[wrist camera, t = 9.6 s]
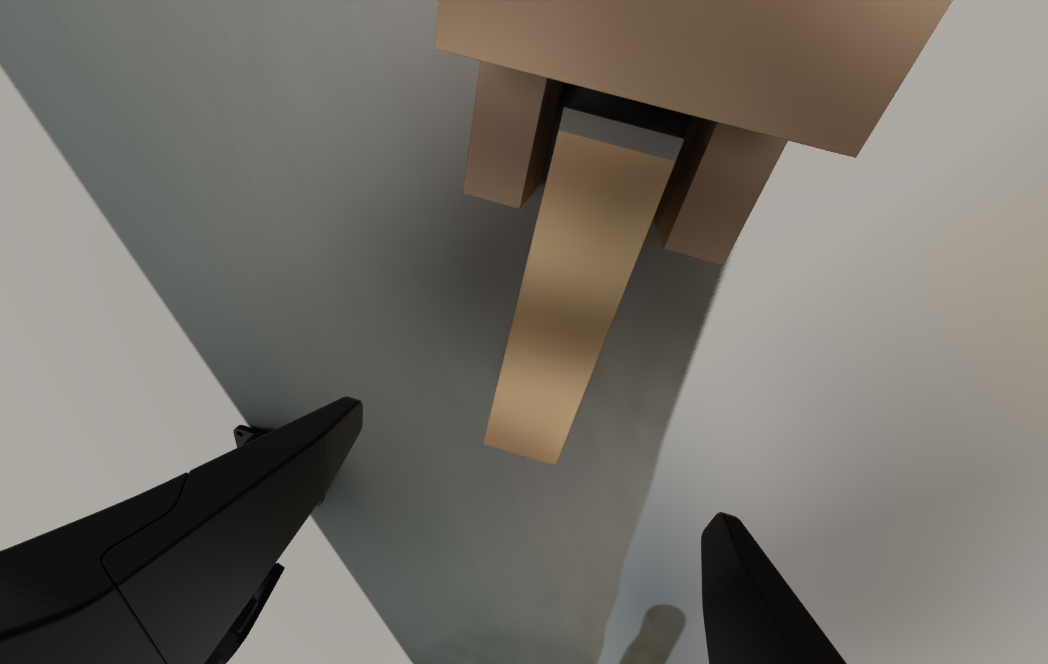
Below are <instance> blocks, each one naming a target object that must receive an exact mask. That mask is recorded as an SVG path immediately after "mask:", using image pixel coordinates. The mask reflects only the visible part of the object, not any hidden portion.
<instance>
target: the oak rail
mask: <svg viewBox="0 0 1048 664" xmlns="http://www.w3.org/2000/svg"><path fill="white" fill-rule="evenodd" d="M683 141H684V139H683V138H681V137H680V136H678V135H676V134H674V133H672V132H671V131H669V130H667V129H665V128H662V127H659V126H655V125H651V124H647V123H643V122H640V121H636V120H632V119H628V118H624V117H621V116H617V115H613V114H609V113H606V112H602V111H598V110H594V109H590V108H587V107H583V106H579V105H574V106H569V107H564V110H563V114H562V118H561V122H560V127H559V131H558V135H557V139H556V143H555V147H554V152H553V156H552V160H551V164H550V168H549V172H548V177H547V181H546V185H545V189H544V193H543V197H542V202H541V206H540V210H539V214H538V218H537V222H536V226H535V231H534V235H533V239H532V243H531V247H530V251H529V256H528V260H527V264H526V268H525V272H524V276H523V281H522V285H521V289H520V293H519V297H518V301H517V306H516V310H515V314H514V318H513V322H512V326H511V330H510V335H509V339H508V343H507V347H506V351H505V355H504V360H503V364H502V368H501V372H500V376H499V380H498V385H497V389H496V393H495V397H494V401H493V405H492V410H491V414H490V418H489V422H488V426H487V430H486V434H485V439H484V443H483V444H486V445H490V446H493V447H496V448H499V449H503V450H506V451H509V452H512V453H516V454H519V455H522V456H525V457H529V458H532V459H535V460H538V461H542V462H545V463H548V464H551V465H556V463H557V460H558V458H559V455H560V452H561V450H562V447H563V445H564V442H565V440H566V437H567V435H568V432H569V430H570V427H571V425H572V422H573V420H574V417H575V415H576V412H577V409H578V407H579V404H580V402H581V399H582V397H583V394H584V392H585V389H586V387H587V384H588V382H589V379H590V377H591V374H592V372H593V369H594V366H595V364H596V361H597V359H598V356H599V354H600V351H601V349H602V346H603V344H604V341H605V339H606V336H607V334H608V331H609V328H610V326H611V323H612V321H613V318H614V316H615V313H616V311H617V308H618V306H619V303H620V301H621V298H622V296H623V293H624V291H625V288H626V285H627V283H628V280H629V278H630V275H631V273H632V270H633V268H634V265H635V263H636V260H637V258H638V255H639V253H640V250H641V248H642V245H643V242H644V240H645V237H646V235H647V232H648V230H649V227H650V225H651V222H652V220H653V217H654V215H655V212H656V210H657V207H658V204H659V202H660V199H661V197H662V194H663V192H664V189H665V187H666V184H667V182H668V179H669V177H670V174H671V172H672V169H673V167H674V164H675V161H676V159H677V156H678V154H679V151H680V149H681V146H682V144H683Z"/></svg>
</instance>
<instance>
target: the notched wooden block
mask: <svg viewBox="0 0 1048 664" xmlns="http://www.w3.org/2000/svg"><path fill="white" fill-rule="evenodd" d="M952 1H953V0H439V2H438V14H437V27H436V39H435V49H439V50H442V51H446V52H449V53H453V54H457V55H461V56H465V57H469V58H473V59H476V60H480V61H481V62H480V69H479V77H478V84H477V92H476V99H475V106H474V114H473V121H472V129H471V136H470V144H469V151H468V159H467V166H466V174H465V181H464V188H463V193H464V194H468V195H471V196H475V197H479V198H482V199H486V200H489V201H493V202H497V203H500V204H504V205H507V206H511V207H515V208H518V209H520V207H521V206H522V205H523V204H524V203H525V201H526V200H527V199H528V198H529V197H530V196H531V194H532V193H533V192H534V191H535V190H536V188H537V187H538V186H539V185H540V181H541V177H542V173H543V169H544V164H545V160H546V156H547V151H548V147H549V143H550V138H551V134H552V130H553V125H554V121H555V117H556V112H557V108H558V104H559V99H560V95H561V91H562V86H563V82H565V83H569V84H573V85H577V86H580V87H584V88H588V89H592V90H596V91H600V92H604V93H607V94H611V95H615V96H619V97H623V98H627V99H631V100H634V101H638V102H642V103H646V104H650V105H654V106H658V107H661V108H665V109H669V110H673V111H677V112H681V113H685V114H688V115H692V116H691V118H690V121H689V123H688V126H687V128H686V131H685V133H684V136H683V139H684V141H683V144H682V146H681V149H680V151H679V154H678V156H677V159H676V161H675V164H674V167H673V169H672V172H671V174H670V177H669V179H668V182H667V184H666V187H665V189H664V192H663V194H662V197H661V199H660V202H659V204H658V207H657V210H656V212H655V215H654V217H653V218H654V221H655V224H656V227H657V230H658V233H659V236H660V239H661V242H662V245H663V248H664V249H666V250H670V251H674V252H677V253H681V254H684V255H688V256H692V257H695V258H699V259H703V260H706V261H710V262H713V263H717V264H721V265H724V263H725V261H726V259H727V257H728V255H729V253H730V251H731V249H732V247H733V245H734V244H735V242H736V240H737V238H738V236H739V234H740V232H741V230H742V228H743V226H744V224H745V222H746V220H747V218H748V217H749V215H750V213H751V211H752V209H753V207H754V205H755V203H756V201H757V199H758V197H759V195H760V194H761V191H762V190H763V188H764V186H765V184H766V182H767V180H768V178H769V176H770V174H771V172H772V170H773V168H774V166H775V164H776V162H777V161H778V159H779V157H780V155H781V153H782V151H783V149H784V147H785V145H786V143H787V142H788V140H789V141H793V142H796V143H800V144H805V145H808V146H812V147H816V148H820V149H824V150H827V151H831V152H835V153H839V154H843V155H847V156H852V157H855V158H856V156H857V155H858V153H859V152H860V150H861V149H862V147H863V145H864V144H865V142H866V140H867V139H868V137H869V136H870V134H871V132H872V130H873V129H874V127H875V126H876V124H877V123H878V121H879V119H880V118H881V116H882V114H883V113H884V111H885V110H886V108H887V106H888V105H889V103H890V101H891V100H892V98H893V97H894V95H895V93H896V92H897V90H898V88H899V87H900V85H901V84H902V82H903V80H904V78H905V77H906V75H907V74H908V72H909V71H910V69H911V67H912V66H913V64H914V62H915V61H916V59H917V58H918V56H919V54H920V52H921V51H922V49H923V47H924V46H925V44H926V43H927V41H928V39H929V38H930V36H931V35H932V33H933V31H934V30H935V28H936V27H937V25H938V23H939V22H940V20H941V18H942V17H943V15H944V13H945V12H946V10H947V8H948V7H949V5H950V4H951V2H952Z"/></svg>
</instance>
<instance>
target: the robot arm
mask: <svg viewBox="0 0 1048 664" xmlns="http://www.w3.org/2000/svg"><path fill="white" fill-rule="evenodd" d="M362 424H363V404H362V402H361V401H360V400H358V399H354V398H351V397H343V398H341V399H338V400H336V401H334V402H332V403H330V404H328V405H326V406H324V407H322V408H320V409H318V410H316V411H313V412H311V413H309V414H307V415H305V416H303V417H301V418H299V419H297V420H295V421H293V422H291V423H288V424H286V425H284V426H282V427H280V428H278V429H276V430H274V431H272V432H270V433H266V432H263V431H260V430H257V429H253V428H250V427H247V426H244V425H239V426H238V427H236V428H235V429H234V436H235V440H236V444H237V448H236V449H234V450H232V451H230V452H228V453H226V454H224V455H222V456H220V457H217V458H215V459H213V460H211V461H209V462H207V463H205V464H203V465H201V466H199V467H197V468H195V469H193V470H191V471H190V472H189V473H184V474H182V475H180V476H178V477H175V478H173V479H171V480H169V481H167V482H165V483H163V484H161V485H158V486H156V487H154V488H152V489H150V490H148V491H146V492H143V493H141V494H139V495H137V496H134V497H132V498H130V499H127V500H125V501H123V502H120V503H118V504H116V505H113V506H111V507H108V508H106V509H104V510H101V511H99V512H96V513H94V514H92V515H89V516H87V517H84V518H82V519H79V520H77V521H74V522H72V523H69V524H67V525H65V526H62V527H59V528H57V529H54V530H52V531H49V532H47V533H45V534H42V535H40V536H37V537H35V538H32V539H30V540H27V541H25V542H22V543H20V544H17V545H15V546H13V547H10V548H8V549H5V550H2V551H0V664H226V663H227V662H228V661H229V659H230V658H231V657H232V656H233V655H234V653H235V652H236V651H237V649H238V648H239V647H240V645H241V644H242V643H243V641H244V640H245V638H246V637H247V635H248V634H249V632H250V630H251V628H252V627H253V625H254V623H255V621H256V620H257V618H258V616H259V614H260V612H261V611H262V609H263V607H264V605H265V603H266V601H267V600H268V598H269V596H270V594H271V592H272V591H273V588H274V587H275V585H276V583H277V581H278V579H279V578H280V575H281V574H282V572H283V570H284V567H283V566H282V565H280V564H279V563H277V564H276V561H277V560H278V558H279V557H280V556H281V554H282V553H283V551H284V550H285V549H286V547H287V546H288V544H289V543H290V542H291V540H292V539H293V538H294V536H295V535H296V533H297V532H298V530H299V529H300V528H301V526H302V525H303V523H304V522H305V520H306V519H307V518H308V516H309V515H310V514H311V512H312V511H313V509H314V508H315V507H316V506H320V505H321V503H322V502H323V500H324V499H323V495H324V494H325V492H326V491H327V489H328V488H329V486H330V485H331V483H332V481H333V480H334V478H335V476H336V474H337V473H338V471H339V469H340V467H341V465H342V464H343V462H344V460H345V458H346V457H347V455H348V453H349V451H350V449H351V448H352V446H353V444H354V442H355V440H356V439H357V437H358V435H359V433H360V431H361V429H362ZM701 562H702V602H703V615H704V624H705V632H706V641H707V648H708V657H709V664H846V662H845V661H844V659H843V658H842V657H841V656H840V654H839V653H838V651H837V650H836V649H835V648H834V646H833V645H832V643H831V642H830V641H829V639H828V638H827V637H826V636H825V634H824V633H823V631H822V630H821V629H820V627H819V626H818V624H817V623H816V622H815V621H814V619H813V618H812V616H811V615H810V614H809V612H808V611H807V610H806V608H805V607H804V606H803V604H802V603H801V602H800V600H799V599H798V598H797V596H796V595H795V593H794V592H793V591H792V589H791V588H790V587H789V585H788V584H787V583H786V581H785V580H784V579H783V577H782V576H781V575H780V573H779V572H778V571H777V569H776V568H775V567H774V565H773V564H772V562H771V561H770V560H769V558H768V557H767V556H766V554H765V553H764V552H763V550H762V549H761V548H760V546H759V545H758V544H757V542H756V541H755V540H754V538H753V537H752V536H751V534H750V533H749V531H748V530H747V529H746V527H745V526H744V525H743V523H742V522H741V521H740V520H739V519H738V518H737V517H735V516H732V515H729V514H726V513H723V512H720V513H717V514H716V515H715V517H714V518H713V519H712V520H711V522H710V523H709V524H708V526H707V527H706V528H705V529H704V531H703V533H702V537H701Z"/></svg>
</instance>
